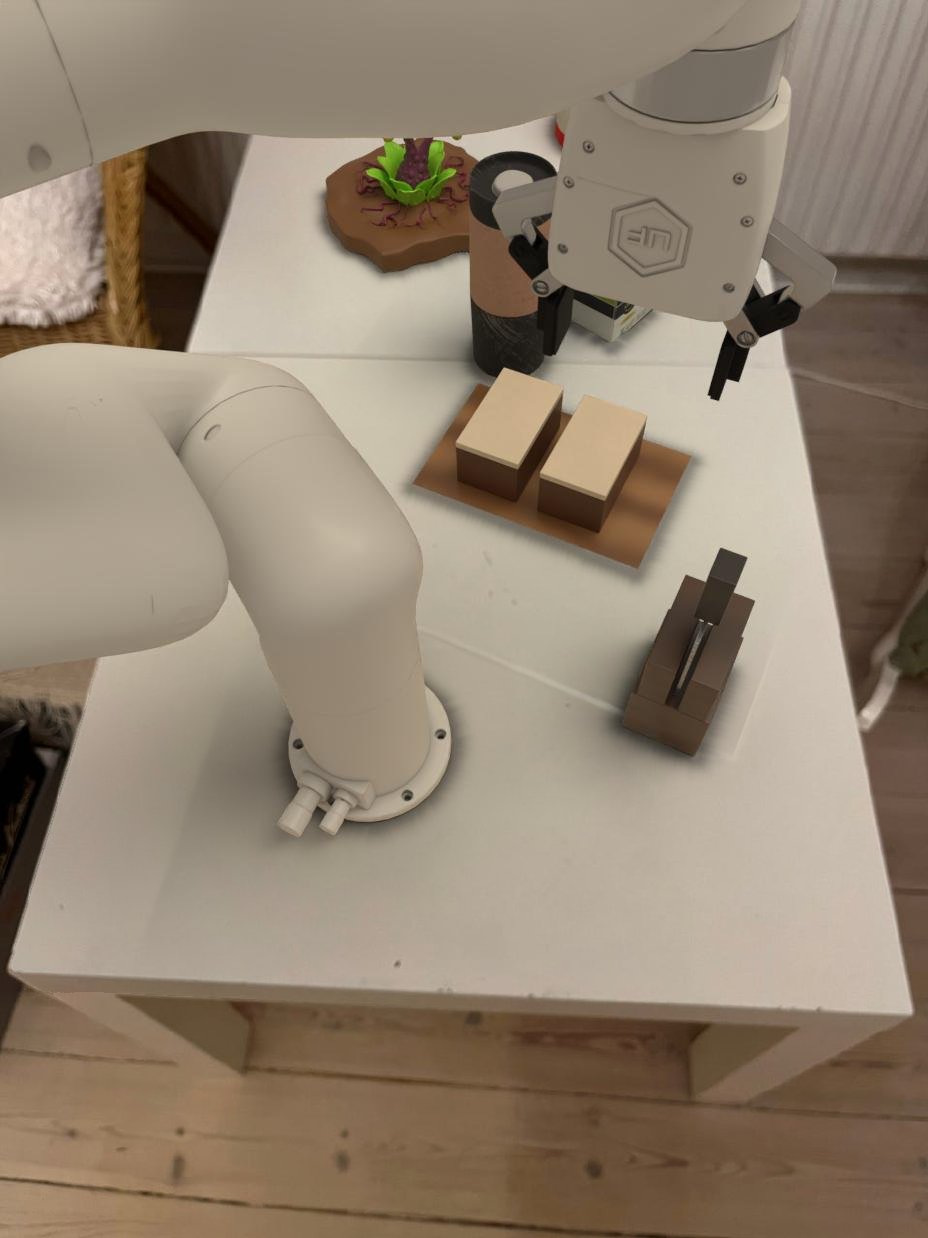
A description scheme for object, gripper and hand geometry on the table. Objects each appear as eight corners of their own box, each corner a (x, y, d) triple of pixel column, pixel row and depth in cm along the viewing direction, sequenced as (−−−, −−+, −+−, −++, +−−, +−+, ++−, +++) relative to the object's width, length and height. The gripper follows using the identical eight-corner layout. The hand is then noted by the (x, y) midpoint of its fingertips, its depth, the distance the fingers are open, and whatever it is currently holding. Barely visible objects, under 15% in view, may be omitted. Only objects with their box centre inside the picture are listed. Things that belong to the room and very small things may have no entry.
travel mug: (561, 356, 93) (578, 174, 76) (512, 398, 90) (517, 218, 73) (505, 322, 96) (509, 138, 79) (455, 361, 93) (448, 179, 76)
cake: (516, 503, 83) (518, 464, 78) (457, 480, 84) (455, 441, 80) (560, 427, 87) (564, 387, 83) (503, 407, 89) (503, 366, 84)
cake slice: (599, 533, 81) (605, 496, 76) (536, 510, 82) (539, 472, 78) (639, 455, 85) (648, 415, 81) (579, 434, 87) (584, 393, 82)
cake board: (636, 573, 80) (637, 568, 79) (412, 488, 85) (412, 483, 84) (690, 461, 86) (691, 455, 85) (478, 388, 91) (478, 382, 91)
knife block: (694, 756, 71) (726, 694, 61) (621, 725, 72) (641, 659, 63) (726, 673, 74) (761, 602, 65) (656, 645, 76) (680, 571, 66)
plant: (297, 197, 107) (278, 102, 98) (437, 140, 113) (433, 44, 103) (384, 292, 99) (374, 197, 89) (532, 225, 104) (537, 129, 94)
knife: (686, 701, 67) (727, 608, 55) (663, 692, 67) (698, 597, 56) (713, 637, 69) (756, 535, 58) (690, 628, 70) (729, 525, 59)
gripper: (464, 58, 38) (472, 367, 53) (893, 142, 34) (772, 449, 49) (526, -28, 41) (517, 284, 56) (922, 40, 38) (801, 355, 52)
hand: (636, 361), depth 53 cm, fingers open, 9 cm apart
